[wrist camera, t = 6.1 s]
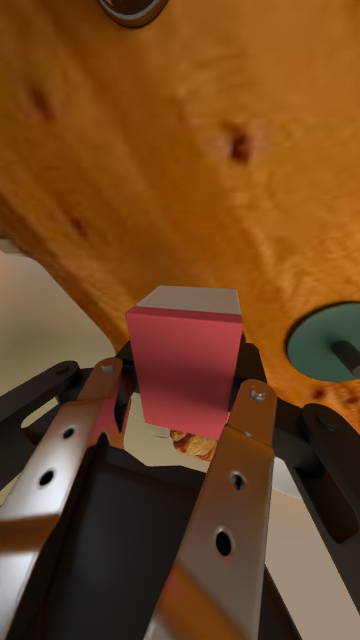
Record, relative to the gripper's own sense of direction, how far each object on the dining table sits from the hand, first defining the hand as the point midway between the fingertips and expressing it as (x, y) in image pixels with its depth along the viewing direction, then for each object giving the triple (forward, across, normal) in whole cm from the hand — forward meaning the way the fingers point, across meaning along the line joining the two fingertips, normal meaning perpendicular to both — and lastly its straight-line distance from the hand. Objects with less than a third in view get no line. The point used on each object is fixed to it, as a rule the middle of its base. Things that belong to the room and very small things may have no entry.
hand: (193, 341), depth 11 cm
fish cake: (0, 0, 0) cm, 0 cm away
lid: (+16, -19, +9) cm, 26 cm away
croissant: (+17, +2, +38) cm, 42 cm away
